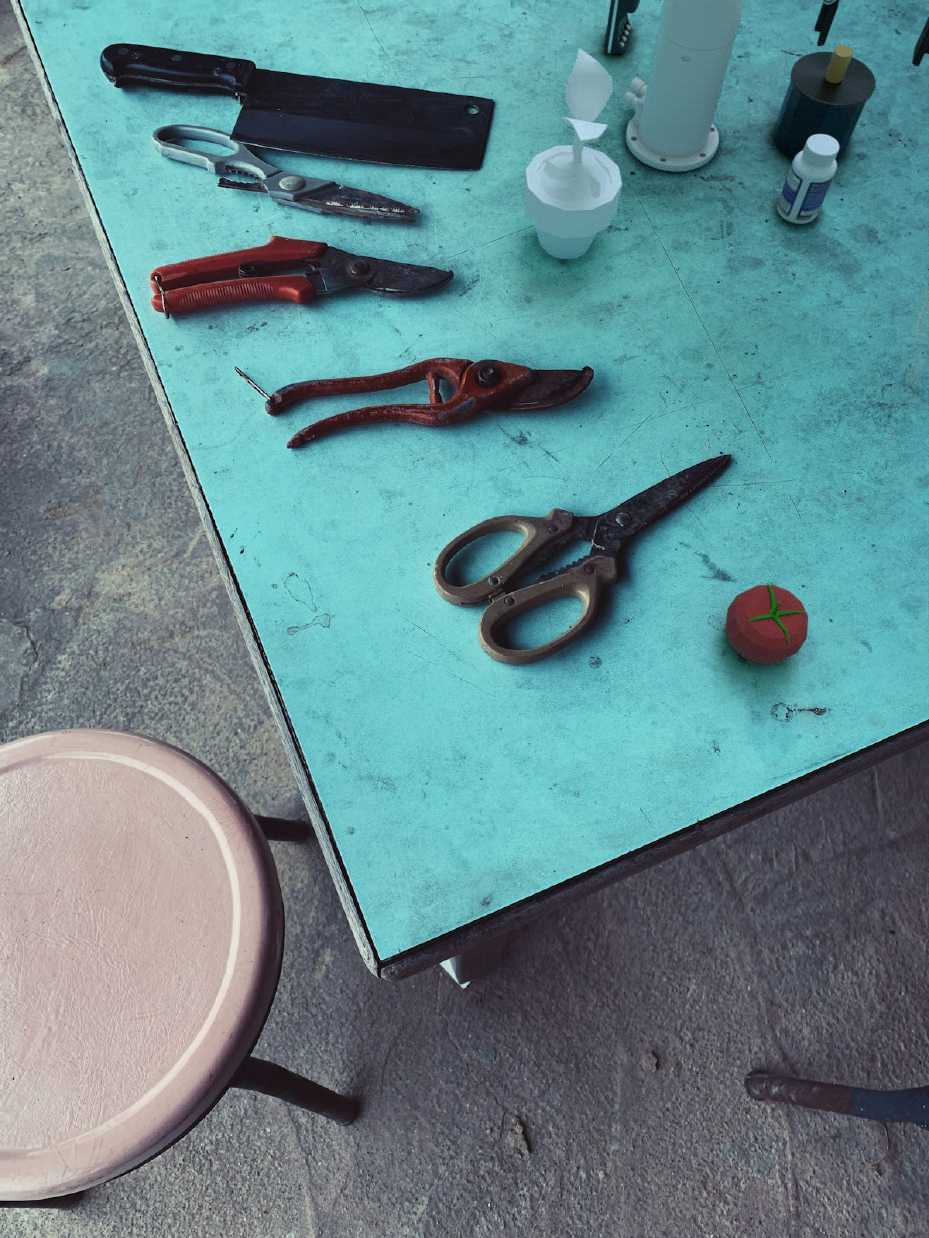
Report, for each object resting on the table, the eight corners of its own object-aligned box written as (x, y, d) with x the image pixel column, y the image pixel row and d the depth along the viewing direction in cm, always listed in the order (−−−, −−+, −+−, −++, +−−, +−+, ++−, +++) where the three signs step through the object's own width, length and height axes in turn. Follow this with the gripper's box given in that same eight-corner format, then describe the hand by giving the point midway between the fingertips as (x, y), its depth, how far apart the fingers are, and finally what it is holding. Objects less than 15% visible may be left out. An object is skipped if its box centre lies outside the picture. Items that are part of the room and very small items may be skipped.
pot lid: (771, 82, 121) (782, 47, 117) (824, 49, 124) (837, 14, 120) (836, 124, 117) (850, 90, 113) (889, 89, 120) (905, 54, 116)
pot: (757, 137, 128) (777, 78, 120) (805, 107, 131) (826, 47, 123) (813, 175, 125) (837, 117, 117) (860, 143, 127) (886, 84, 120)
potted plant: (527, 205, 121) (544, 8, 99) (615, 218, 120) (652, 23, 98) (509, 274, 116) (523, 83, 93) (601, 289, 115) (638, 99, 92)
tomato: (788, 604, 96) (814, 568, 89) (801, 673, 92) (829, 641, 86) (711, 605, 96) (731, 569, 89) (722, 674, 92) (744, 643, 85)
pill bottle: (821, 204, 122) (850, 137, 113) (810, 230, 120) (839, 164, 111) (782, 192, 123) (807, 124, 114) (770, 217, 121) (795, 151, 112)
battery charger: (627, 59, 135) (642, -24, 125) (602, 54, 135) (614, -29, 125) (637, 31, 138) (653, -52, 128) (613, 26, 138) (626, -57, 128)
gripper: (1055, -154, 80) (957, 44, 95) (854, -189, 82) (790, 10, 97) (1052, -109, 76) (951, 89, 92) (842, -146, 79) (778, 53, 94)
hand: (868, 48), depth 95 cm, fingers open, 9 cm apart
